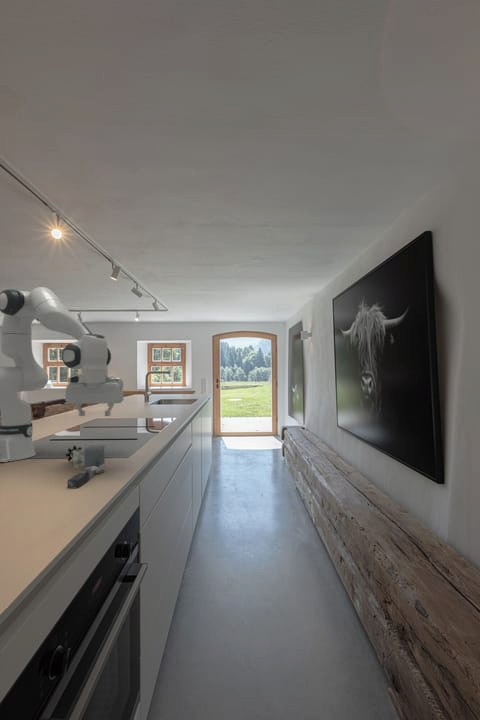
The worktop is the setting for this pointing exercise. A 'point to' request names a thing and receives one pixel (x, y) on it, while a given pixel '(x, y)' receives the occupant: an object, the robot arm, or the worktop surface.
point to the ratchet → (85, 476)
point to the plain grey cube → (94, 456)
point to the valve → (76, 457)
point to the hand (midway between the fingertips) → (94, 415)
